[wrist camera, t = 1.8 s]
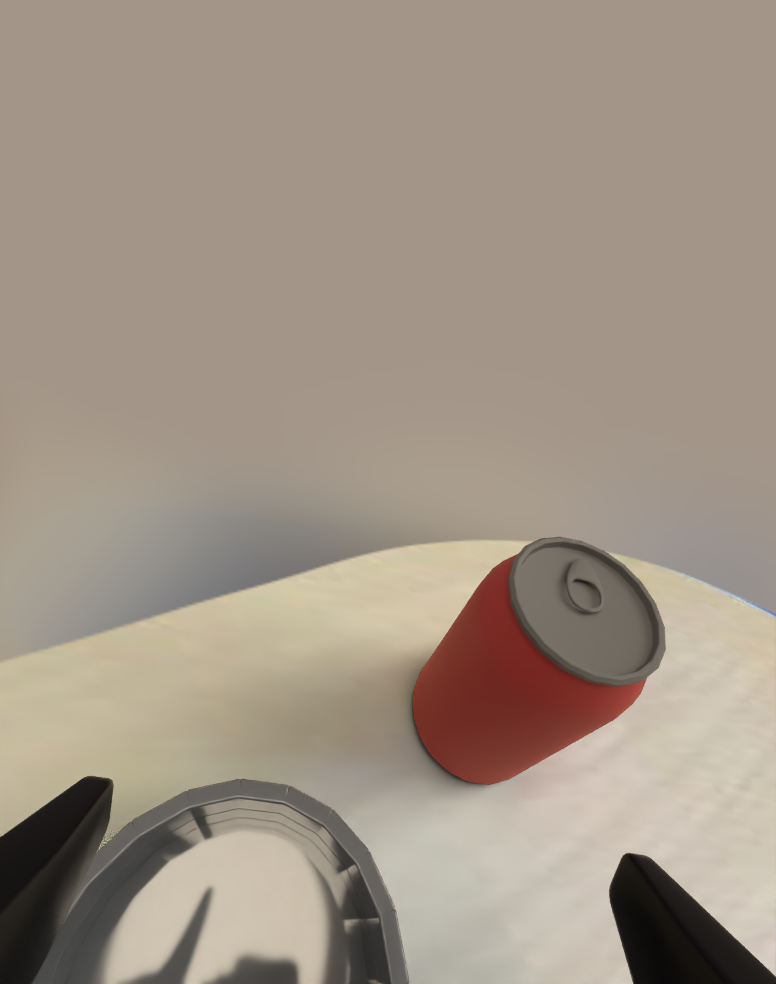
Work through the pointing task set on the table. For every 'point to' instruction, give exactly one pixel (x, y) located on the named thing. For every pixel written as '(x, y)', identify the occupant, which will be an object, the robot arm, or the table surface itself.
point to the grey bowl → (231, 898)
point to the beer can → (537, 660)
